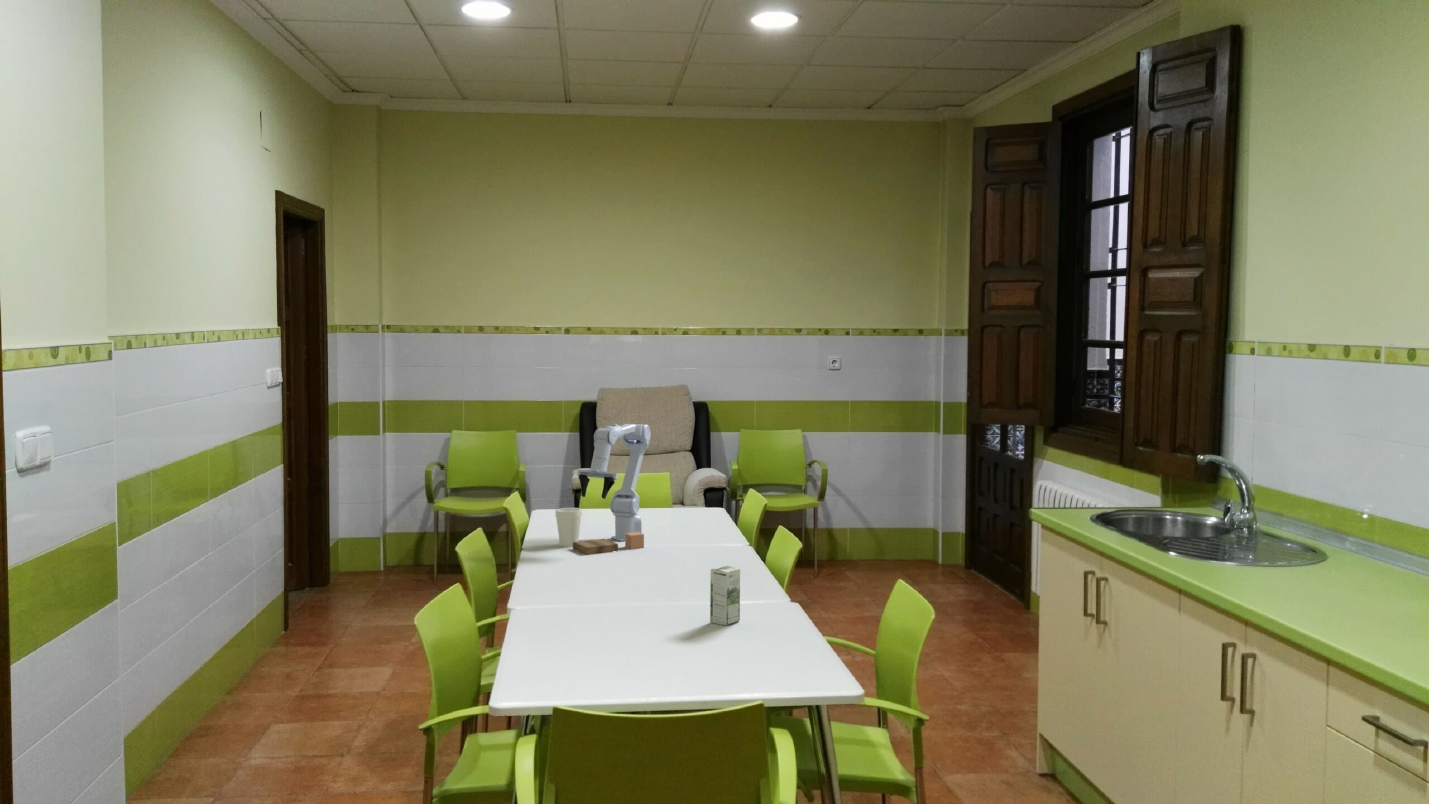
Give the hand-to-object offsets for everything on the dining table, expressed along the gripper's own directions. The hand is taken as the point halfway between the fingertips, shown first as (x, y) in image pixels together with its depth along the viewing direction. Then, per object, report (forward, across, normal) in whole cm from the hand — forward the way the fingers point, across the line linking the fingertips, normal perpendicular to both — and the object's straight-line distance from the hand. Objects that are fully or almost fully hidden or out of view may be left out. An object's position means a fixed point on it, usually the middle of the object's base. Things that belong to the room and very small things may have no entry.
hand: (593, 497), depth 372 cm
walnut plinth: (+17, +1, +10) cm, 20 cm away
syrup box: (+47, +70, -64) cm, 105 cm away
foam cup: (+15, -12, +16) cm, 25 cm away
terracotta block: (+13, +12, +17) cm, 25 cm away
